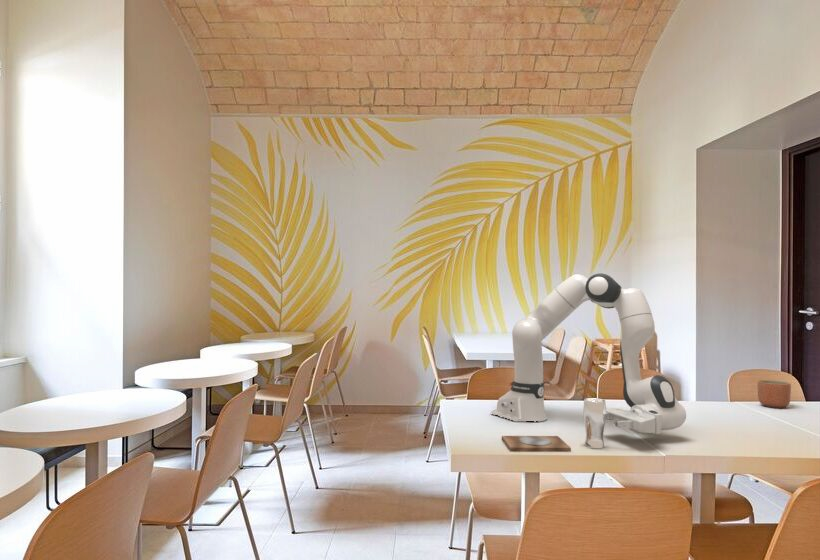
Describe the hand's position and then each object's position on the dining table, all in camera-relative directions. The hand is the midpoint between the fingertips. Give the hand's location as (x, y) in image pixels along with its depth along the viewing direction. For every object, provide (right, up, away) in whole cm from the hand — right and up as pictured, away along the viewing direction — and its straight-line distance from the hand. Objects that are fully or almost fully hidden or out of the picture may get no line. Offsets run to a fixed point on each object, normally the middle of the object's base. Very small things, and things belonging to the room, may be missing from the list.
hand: (607, 420), depth 183 cm
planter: (+97, -10, +65) cm, 117 cm away
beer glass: (-5, -8, -2) cm, 9 cm away
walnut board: (-24, -8, -1) cm, 25 cm away
